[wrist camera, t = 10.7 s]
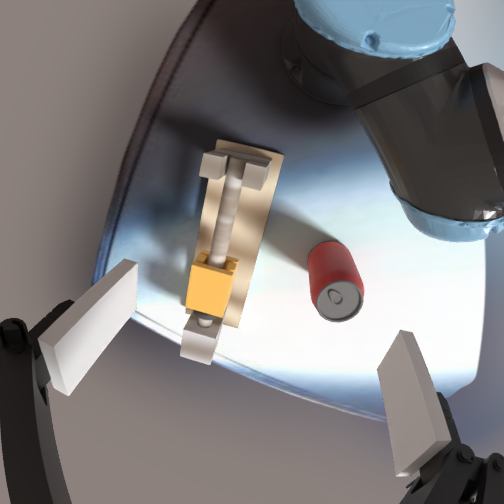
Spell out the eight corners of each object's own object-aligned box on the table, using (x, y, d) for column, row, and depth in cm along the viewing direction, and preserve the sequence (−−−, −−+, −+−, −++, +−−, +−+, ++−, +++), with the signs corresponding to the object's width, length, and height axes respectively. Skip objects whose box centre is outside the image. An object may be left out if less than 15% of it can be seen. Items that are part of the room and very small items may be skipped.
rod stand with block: (219, 139, 40) (193, 142, 29) (284, 154, 40) (281, 163, 29) (188, 308, 51) (163, 353, 40) (239, 323, 51) (225, 372, 40)
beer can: (333, 230, 43) (347, 265, 32) (359, 263, 44) (378, 305, 33) (298, 257, 45) (299, 299, 34) (325, 288, 47) (332, 335, 36)
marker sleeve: (202, 249, 39) (191, 264, 35) (239, 259, 39) (232, 276, 35) (195, 288, 42) (185, 306, 37) (229, 298, 42) (222, 317, 37)
